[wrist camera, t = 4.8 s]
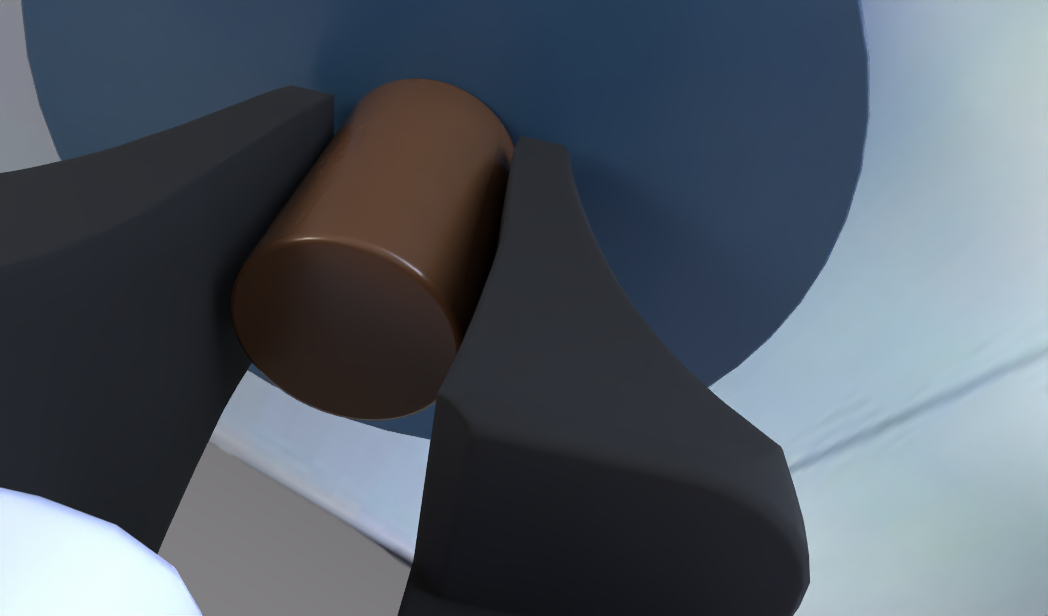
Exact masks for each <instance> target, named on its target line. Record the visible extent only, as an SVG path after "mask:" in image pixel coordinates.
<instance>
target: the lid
mask: <svg viewBox="0 0 1048 616" xmlns="http://www.w3.org/2000/svg"><path fill="white" fill-rule="evenodd" d="M21 5H22V14H23V23H24V31H25V40H26V48H27V56H28V60H29V64H30V69H31V73H32V77H33V81H34V85H35V89H36V93H37V97H38V101H39V105H40V108H41V111H42V113H43V116H44V119H45V121H46V124H47V127H48V129H49V132H50V135H51V137H52V140H53V143H54V145H55V148H56V151H57V153H58V155H59V157H60V159H61V161H63V160H67V159H72V158H76V157H80V156H84V155H87V154H91V153H95V152H99V151H102V150H106V149H109V148H113V147H116V146H119V145H122V144H125V143H128V142H131V141H134V140H137V139H140V138H143V137H146V136H149V135H152V134H155V133H158V132H161V131H164V130H167V129H170V128H173V127H176V126H179V125H182V124H185V123H187V122H190V121H192V120H195V119H198V118H200V117H203V116H206V115H208V114H211V113H213V112H216V111H219V110H221V109H224V108H227V107H229V106H232V105H234V104H237V103H239V102H242V101H245V100H247V99H250V98H252V97H255V96H258V95H261V94H263V93H266V92H269V91H272V90H275V89H278V88H282V87H286V86H290V85H293V86H297V87H302V88H306V89H311V90H316V91H320V92H325V93H329V94H334V95H335V103H334V137H333V138H332V139H331V141H330V142H329V144H328V145H327V146H326V148H325V149H324V151H323V152H322V153H321V155H320V156H319V158H318V159H317V161H316V162H315V163H314V165H313V166H312V168H311V169H310V170H309V172H308V173H307V175H306V176H305V177H304V179H303V180H302V182H301V183H300V184H299V186H298V187H297V189H296V190H295V191H294V193H293V194H292V196H291V197H290V199H289V200H288V201H287V203H286V204H285V206H284V207H283V208H282V210H281V211H280V213H279V214H278V215H277V217H276V218H275V220H274V221H273V222H272V224H271V225H270V227H269V228H268V229H267V231H266V232H265V234H264V235H263V236H262V238H261V239H260V241H259V242H258V244H257V245H256V246H255V248H254V249H253V251H252V252H251V253H250V255H249V256H248V258H247V259H246V260H245V262H244V263H243V265H242V266H241V267H240V269H239V270H238V272H237V275H236V277H235V279H234V281H233V285H232V289H231V297H230V312H231V320H232V324H233V328H234V331H235V334H236V336H237V338H238V341H239V343H240V345H241V347H242V348H243V350H244V352H245V353H246V355H247V356H248V358H249V359H250V360H251V362H252V364H251V365H250V367H249V368H248V370H249V371H250V372H252V373H253V374H255V375H257V376H258V377H260V378H262V379H263V380H265V381H267V382H268V383H270V384H272V385H274V386H276V387H278V388H280V389H281V390H282V391H284V392H285V393H287V394H288V395H290V396H292V397H293V398H295V399H296V400H298V401H300V402H302V403H304V404H306V405H308V406H310V407H313V408H315V409H318V410H320V411H323V412H326V413H329V414H333V415H336V416H340V417H345V418H348V419H351V420H354V421H357V422H361V423H364V424H367V425H371V426H374V427H377V428H380V429H384V430H387V431H392V432H396V433H401V434H406V435H411V436H416V437H420V438H425V439H431V434H432V426H433V419H434V412H435V405H436V398H437V393H438V391H439V389H440V387H441V385H442V383H443V381H444V380H445V377H446V375H447V373H448V371H449V369H450V367H451V365H452V363H453V361H454V359H455V357H456V355H457V352H458V350H459V348H460V346H461V344H462V342H463V339H464V337H465V334H466V332H467V330H468V327H469V325H470V322H471V320H472V318H473V315H474V313H475V310H476V308H477V305H478V303H479V300H480V297H481V295H482V292H483V289H484V287H485V284H486V281H487V279H488V276H489V273H490V270H491V268H492V265H493V262H494V259H495V253H496V247H497V241H498V235H499V229H500V222H501V216H502V211H503V205H504V199H505V194H506V188H507V182H508V177H509V171H510V165H511V160H512V154H513V151H514V149H515V147H516V144H517V142H518V141H519V139H520V137H521V136H524V137H528V138H533V139H537V140H542V141H547V142H551V143H556V144H560V145H565V147H566V148H567V150H568V151H569V153H570V155H571V166H572V171H573V176H574V180H575V184H576V187H577V191H578V194H579V197H580V200H581V203H582V206H583V209H584V211H585V214H586V216H587V219H588V221H589V224H590V227H591V229H592V232H593V234H594V236H595V238H596V241H597V243H598V245H599V247H600V249H601V251H602V253H603V255H604V257H605V259H606V261H607V263H608V265H609V267H610V269H611V270H612V272H613V274H614V276H615V278H616V279H617V281H618V283H619V284H620V286H621V288H622V289H623V291H624V292H625V294H626V295H627V297H628V298H629V300H630V302H631V303H632V305H633V306H634V308H635V309H636V310H637V312H638V313H639V314H640V316H641V317H642V318H643V320H644V321H645V322H646V323H647V324H648V326H649V327H650V328H651V329H652V330H653V331H654V333H655V334H656V335H657V336H658V337H659V339H660V340H661V341H662V342H663V343H664V344H665V346H666V347H667V348H668V349H669V350H670V351H671V352H672V353H673V354H674V355H675V356H676V357H677V359H678V360H679V361H680V362H681V363H682V364H683V365H684V366H685V367H686V368H687V369H688V370H689V371H690V372H691V373H692V374H694V375H695V376H696V377H697V378H698V379H699V380H700V381H701V382H702V383H703V384H704V385H705V386H706V387H709V386H710V385H712V384H713V383H715V382H716V381H718V380H719V379H721V378H722V377H723V376H725V375H726V374H728V373H729V372H731V371H732V370H734V369H735V368H736V367H738V366H739V365H740V364H741V363H742V362H744V361H745V360H746V359H747V358H748V357H749V356H750V355H751V354H753V353H754V352H755V351H756V350H757V349H758V348H759V347H760V346H762V345H763V344H764V343H765V342H766V341H767V340H768V339H769V338H771V336H772V335H773V334H774V333H775V332H776V331H777V329H778V328H779V327H780V326H781V325H782V324H783V322H784V321H785V320H786V319H787V318H788V317H789V316H790V314H791V313H792V312H793V311H794V310H795V309H796V307H797V306H798V305H799V304H800V303H801V301H802V300H803V298H804V296H805V295H806V293H807V292H808V290H809V289H810V287H811V286H812V284H813V283H814V281H815V280H816V278H817V277H818V275H819V273H820V272H821V270H822V269H823V267H824V266H825V264H826V262H827V260H828V258H829V256H830V254H831V252H832V249H833V247H834V245H835V243H836V241H837V239H838V237H839V235H840V232H841V230H842V228H843V226H844V224H845V222H846V220H847V217H848V213H849V210H850V207H851V203H852V200H853V197H854V193H855V190H856V187H857V184H858V180H859V177H860V174H861V170H862V164H863V158H864V151H865V144H866V137H867V130H868V124H869V117H870V58H869V51H868V45H867V38H866V32H865V25H864V19H863V12H862V6H861V0H21Z"/></svg>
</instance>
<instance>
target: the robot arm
mask: <svg viewBox="0 0 1048 616" xmlns="http://www.w3.org/2000/svg"><path fill="white" fill-rule="evenodd" d="M334 103H335V95H334V94H329V93H325V92H320V91H316V90H311V89H306V88H302V87H297V86H293V85H290V86H286V87H282V88H278V89H275V90H272V91H269V92H266V93H263V94H261V95H258V96H255V97H252V98H250V99H247V100H245V101H242V102H239V103H237V104H234V105H232V106H229V107H227V108H224V109H221V110H219V111H216V112H213V113H211V114H208V115H206V116H203V117H200V118H198V119H195V120H192V121H190V122H187V123H185V124H182V125H179V126H176V127H173V128H170V129H167V130H164V131H161V132H158V133H155V134H152V135H149V136H146V137H143V138H140V139H137V140H134V141H131V142H128V143H125V144H122V145H119V146H116V147H113V148H109V149H106V150H102V151H99V152H95V153H91V154H87V155H84V156H80V157H76V158H72V159H67V160H63V161H59V162H54V163H50V164H46V165H41V166H37V167H32V168H27V169H22V170H17V171H11V172H5V173H0V616H202V614H201V611H200V609H199V608H198V606H197V604H196V603H195V601H194V599H193V597H192V596H191V594H190V592H189V591H188V589H187V587H186V586H185V584H184V582H183V580H182V579H181V577H180V575H179V573H178V572H177V570H176V568H175V567H174V566H172V565H171V564H169V563H168V562H167V561H165V560H164V559H163V558H161V557H160V556H158V555H157V554H158V552H159V549H160V547H161V544H162V542H163V540H164V537H165V535H166V532H167V530H168V528H169V526H170V523H171V521H172V519H173V517H174V515H175V512H176V510H177V508H178V506H179V504H180V501H181V499H182V497H183V495H184V493H185V490H186V488H187V486H188V484H189V481H190V479H191V477H192V475H193V473H194V470H195V468H196V466H197V464H198V462H199V460H200V458H201V456H202V454H203V452H204V449H205V447H206V445H207V443H208V441H209V439H210V437H211V435H212V433H213V431H214V429H215V427H216V425H217V422H218V420H219V418H220V416H221V414H222V412H223V410H224V408H225V407H226V405H227V403H228V401H229V400H230V398H231V396H232V394H233V393H234V391H235V389H236V387H237V386H238V384H239V382H240V381H241V379H242V378H243V376H244V375H245V373H246V371H247V370H248V368H249V367H250V365H251V364H252V362H251V360H250V359H249V358H248V356H247V355H246V353H245V352H244V350H243V348H242V347H241V345H240V343H239V341H238V338H237V336H236V334H235V331H234V328H233V324H232V320H231V312H230V297H231V289H232V285H233V281H234V279H235V277H236V275H237V272H238V270H239V269H240V267H241V266H242V265H243V263H244V262H245V260H246V259H247V258H248V256H249V255H250V253H251V252H252V251H253V249H254V248H255V246H256V245H257V244H258V242H259V241H260V239H261V238H262V236H263V235H264V234H265V232H266V231H267V229H268V228H269V227H270V225H271V224H272V222H273V221H274V220H275V218H276V217H277V215H278V214H279V213H280V211H281V210H282V208H283V207H284V206H285V204H286V203H287V201H288V200H289V199H290V197H291V196H292V194H293V193H294V191H295V190H296V189H297V187H298V186H299V184H300V183H301V182H302V180H303V179H304V177H305V176H306V175H307V173H308V172H309V170H310V169H311V168H312V166H313V165H314V163H315V162H316V161H317V159H318V158H319V156H320V155H321V153H322V152H323V151H324V149H325V148H326V146H327V145H328V144H329V142H330V141H331V139H332V138H333V137H334ZM809 584H810V570H809V552H808V544H807V538H806V532H805V526H804V521H803V516H802V513H801V509H800V506H799V502H798V498H797V495H796V491H795V488H794V485H793V481H792V478H791V475H790V472H789V469H788V465H787V462H786V459H785V456H784V452H783V450H782V448H781V446H779V445H778V444H777V443H775V442H774V441H773V440H772V439H770V438H769V437H768V436H766V435H765V434H764V433H763V432H761V431H760V430H759V429H757V428H756V427H755V426H754V425H752V424H751V423H750V422H749V421H747V420H746V419H745V418H743V417H742V416H741V415H740V414H738V413H737V412H736V411H734V410H733V409H732V408H731V407H729V406H728V405H727V404H725V403H724V402H723V401H722V400H721V399H719V398H718V397H717V396H716V395H715V394H714V393H713V392H712V391H711V390H710V389H708V388H707V387H706V386H705V385H704V384H703V383H702V382H701V381H700V380H699V379H698V378H697V377H696V376H695V375H694V374H692V373H691V372H690V371H689V370H688V369H687V368H686V367H685V366H684V365H683V364H682V363H681V362H680V361H679V360H678V359H677V357H676V356H675V355H674V354H673V353H672V352H671V351H670V350H669V349H668V348H667V347H666V346H665V344H664V343H663V342H662V341H661V340H660V339H659V337H658V336H657V335H656V334H655V333H654V331H653V330H652V329H651V328H650V327H649V326H648V324H647V323H646V322H645V321H644V320H643V318H642V317H641V316H640V314H639V313H638V312H637V310H636V309H635V308H634V306H633V305H632V303H631V302H630V300H629V298H628V297H627V295H626V294H625V292H624V291H623V289H622V288H621V286H620V284H619V283H618V281H617V279H616V278H615V276H614V274H613V272H612V270H611V269H610V267H609V265H608V263H607V261H606V259H605V257H604V255H603V253H602V251H601V249H600V247H599V245H598V243H597V241H596V238H595V236H594V234H593V232H592V229H591V227H590V224H589V221H588V219H587V216H586V214H585V211H584V209H583V206H582V203H581V200H580V197H579V194H578V191H577V187H576V184H575V180H574V176H573V171H572V166H571V155H570V153H569V151H568V150H567V148H566V147H565V145H560V144H556V143H551V142H547V141H542V140H537V139H533V138H528V137H524V136H521V137H520V139H519V141H518V142H517V144H516V147H515V149H514V151H513V154H512V160H511V165H510V171H509V177H508V182H507V188H506V194H505V199H504V205H503V211H502V216H501V222H500V229H499V235H498V241H497V247H496V253H495V259H494V262H493V265H492V268H491V270H490V273H489V276H488V279H487V281H486V284H485V287H484V289H483V292H482V295H481V297H480V300H479V303H478V305H477V308H476V310H475V313H474V315H473V318H472V320H471V322H470V325H469V327H468V330H467V332H466V334H465V337H464V339H463V342H462V344H461V346H460V348H459V350H458V352H457V355H456V357H455V359H454V361H453V363H452V365H451V367H450V369H449V371H448V373H447V375H446V377H445V380H444V381H443V383H442V385H441V387H440V389H439V391H438V393H437V398H436V405H435V412H434V419H433V426H432V434H431V441H430V448H429V455H428V462H427V469H426V476H425V483H424V490H423V497H422V504H421V512H420V519H419V526H418V533H417V540H416V547H415V554H414V561H413V564H412V567H411V571H410V574H409V578H408V581H407V585H406V588H405V592H404V595H403V599H402V602H401V606H400V609H399V612H398V616H793V615H794V614H795V612H796V611H797V609H798V608H799V606H800V604H801V602H802V600H803V597H804V595H805V593H806V590H807V588H808V586H809Z"/></svg>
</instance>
